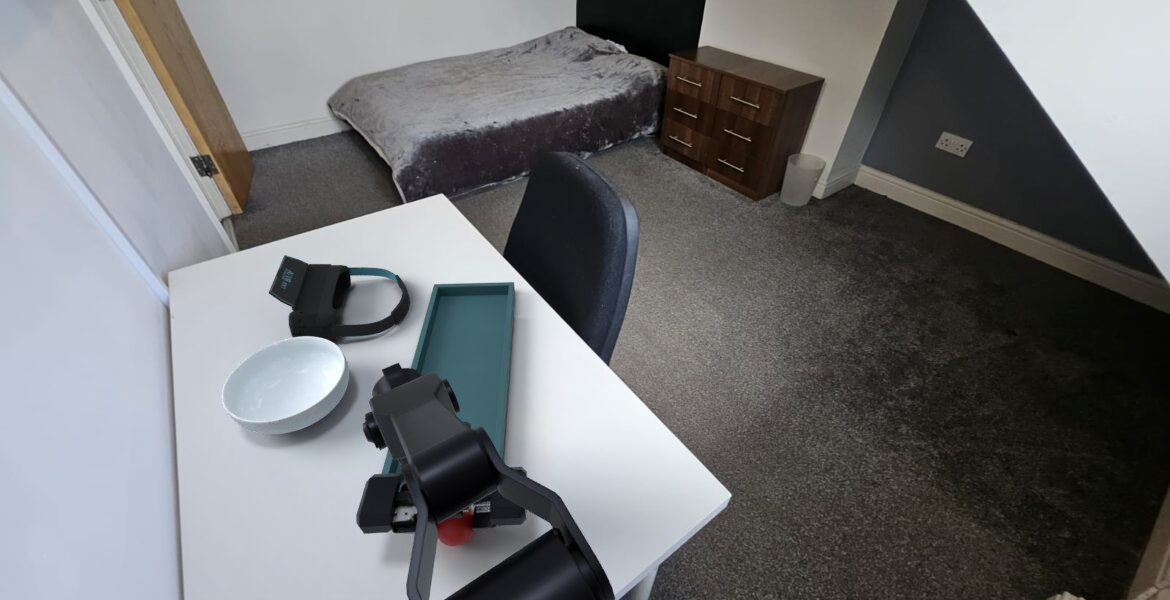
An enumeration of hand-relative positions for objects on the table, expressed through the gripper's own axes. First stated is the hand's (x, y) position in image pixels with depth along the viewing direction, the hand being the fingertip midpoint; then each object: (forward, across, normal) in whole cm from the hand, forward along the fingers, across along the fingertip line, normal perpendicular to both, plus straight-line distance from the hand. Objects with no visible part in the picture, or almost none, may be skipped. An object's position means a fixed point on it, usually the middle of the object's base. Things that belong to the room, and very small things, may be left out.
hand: (457, 529), depth 60 cm
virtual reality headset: (+1, +26, -44) cm, 51 cm away
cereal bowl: (+1, +28, -22) cm, 36 cm away
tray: (+1, +3, -27) cm, 27 cm away
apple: (+1, 0, 0) cm, 1 cm away
